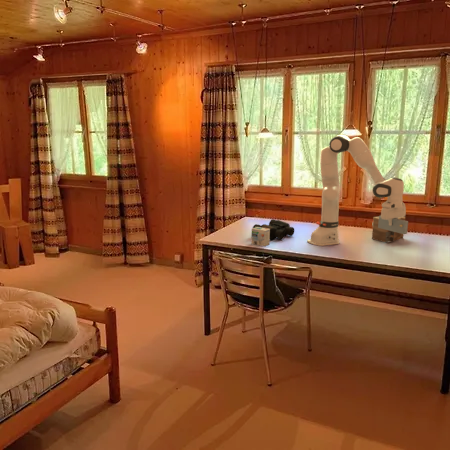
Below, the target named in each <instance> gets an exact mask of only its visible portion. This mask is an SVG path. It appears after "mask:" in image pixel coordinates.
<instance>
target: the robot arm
mask: <svg viewBox="0 0 450 450" xmlns="http://www.w3.org/2000/svg"><path fill="white" fill-rule="evenodd" d="M344 152H348V153H350V155H351V157H352V159H353V161H354V162H355V163H356V165H357V166H358V167H359V168H361V169H363V170H365V171H366V172H367V174H369V176H370V179H371V180H372V181H373V183H374V186H373V187H372V194H373V195H374V196H375V197H377V198H379V199H380V198H381V199H382V198H387V200H386V201H383V203H382V204H381V207H382V208H381V212H380V216H381V218H382V219H384V220H388V221H389V225H390V226H391V225H393V223H392V219H394V218H396V219H398V218H400V217H405V218H406V214H407V213H406V212H407V207H406V203H404V202H403V199H404V198H403V194H404V191H405V189H404V188H405V183H404V181H403V179H401V178H399V177H391V178H389V179H386V178H384V176H383V175H382V173H381V171H380V170H379V168H378V166H377V164H376V162H375V159H374V157H373V153H372V152H371V150H370V149H369V146H368V145H367V144H366V143H365V141H364V140H363V139H362V138H361V137H358V136H357V137H353V138H350V137H349V135H346V134H337V135H335V136H333V137H332V138H331V139H330V141H329V144H328V146H325V147H323V148H322V149H321V151H320V160H319V161H320V175H321V181H322V191H321V192H322V193H321V219H320V221H316V222H315V223H316V225H318V226H317V228H315V230H313V232H311V235H310V239H307V241H306V242H307V243H308V244H311V245H314V246H319V247H322V246H332V245H339V244H340V238H339V209H340V207H339V206H340V205H339V204H340V193H341V186H340V177H339V165H338V164H339V163H338V155H339V153H344Z"/></svg>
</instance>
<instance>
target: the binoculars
mask: <svg viewBox="0 0 450 450" xmlns="http://www.w3.org/2000/svg"><path fill="white" fill-rule="evenodd" d="M255 227H261V228H268V229H270V240H271V241H273V240H275V239H279V240H283V239H284V238H285V237H286V236H289V237H293V235H294V234H295V228H294V227H293V226H290V223H288V222H286V221H283V220H280V219H271V220H270V221H269V223H268V224H266V223H264V224H262V225H260V224H258V223H257V224H254V225H253V226H252V228H255Z"/></svg>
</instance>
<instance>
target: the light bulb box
mask: <svg viewBox="0 0 450 450" xmlns="http://www.w3.org/2000/svg"><path fill="white" fill-rule="evenodd" d="M250 242H251V245H255V246H261V247H266V246H268V245H270V229H268V228H261V227H255V228H253V227H252V228H251V241H250Z"/></svg>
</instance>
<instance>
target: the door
mask: <svg viewBox="0 0 450 450" xmlns="http://www.w3.org/2000/svg"><path fill="white" fill-rule="evenodd" d="M392 223H393V225H391V226H390V225H389V221H388V220H384V219H382V218H381V215H379V222H378V228H381V229H385V230H389V231H393V232H397V233H401V234H404V235H408V229H409V227H408V226H409V221H408V220H406V219H405V220H400V219H396V218H394V219H392Z"/></svg>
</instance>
